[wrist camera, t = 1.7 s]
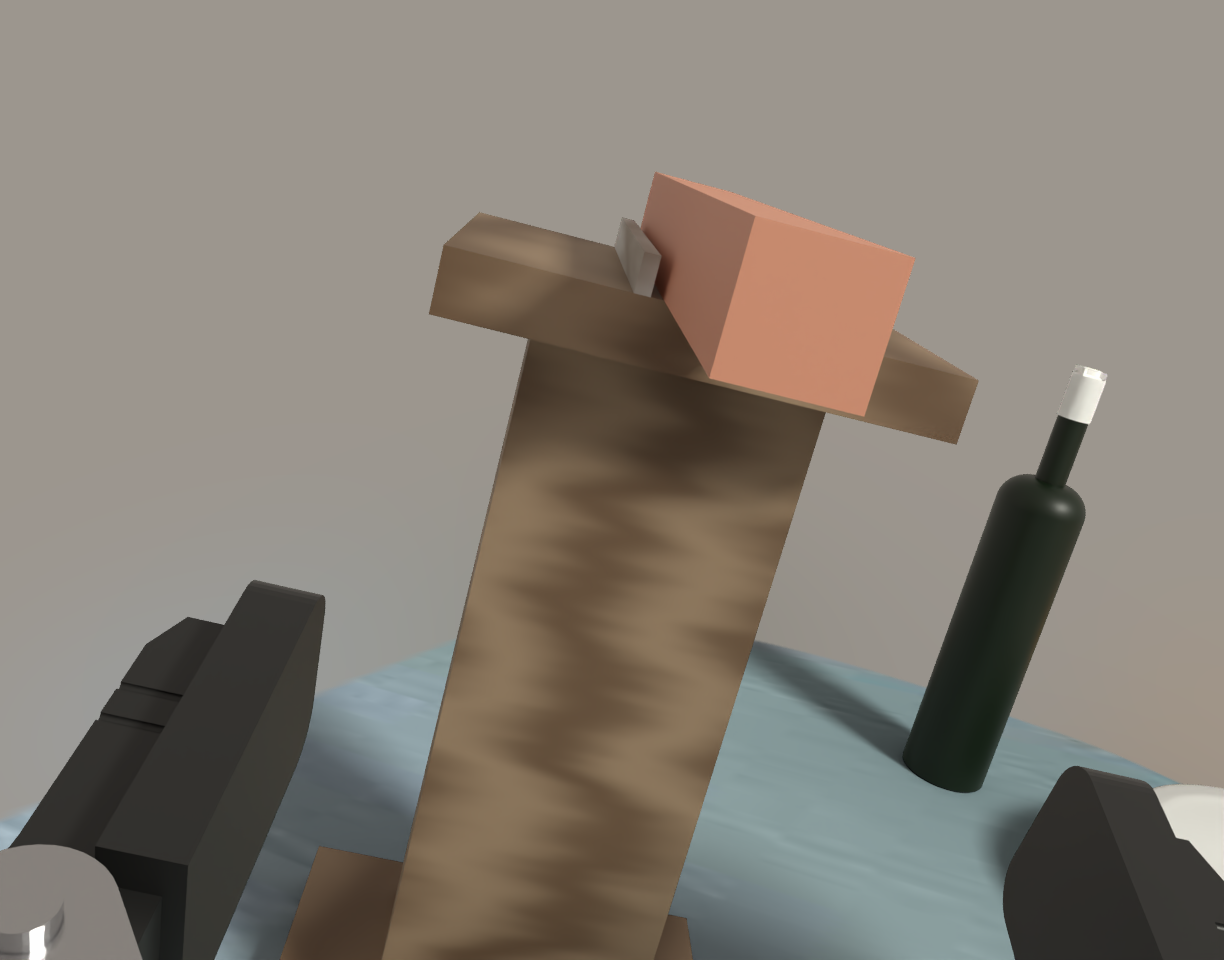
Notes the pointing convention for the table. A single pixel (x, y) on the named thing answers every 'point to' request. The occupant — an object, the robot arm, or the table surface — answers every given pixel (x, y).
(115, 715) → the robot arm
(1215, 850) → the soup bowl
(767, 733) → the table surface
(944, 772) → the wine bottle
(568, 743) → the wooden pedestal
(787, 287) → the stick
